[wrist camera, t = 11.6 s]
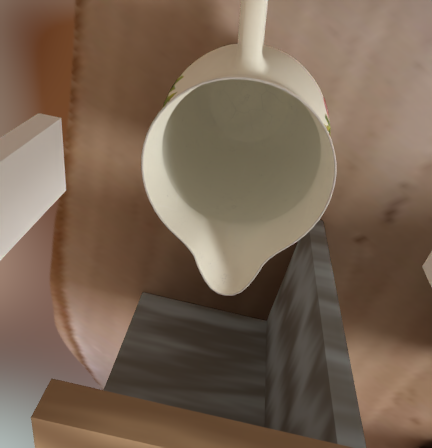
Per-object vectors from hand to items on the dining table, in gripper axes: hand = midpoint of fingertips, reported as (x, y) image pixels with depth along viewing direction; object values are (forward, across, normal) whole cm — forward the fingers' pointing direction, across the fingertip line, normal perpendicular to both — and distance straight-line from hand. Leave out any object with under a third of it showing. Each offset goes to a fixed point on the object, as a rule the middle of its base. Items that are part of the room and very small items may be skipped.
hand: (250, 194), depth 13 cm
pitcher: (+20, -1, -2) cm, 21 cm away
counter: (+20, 0, -20) cm, 29 cm away
